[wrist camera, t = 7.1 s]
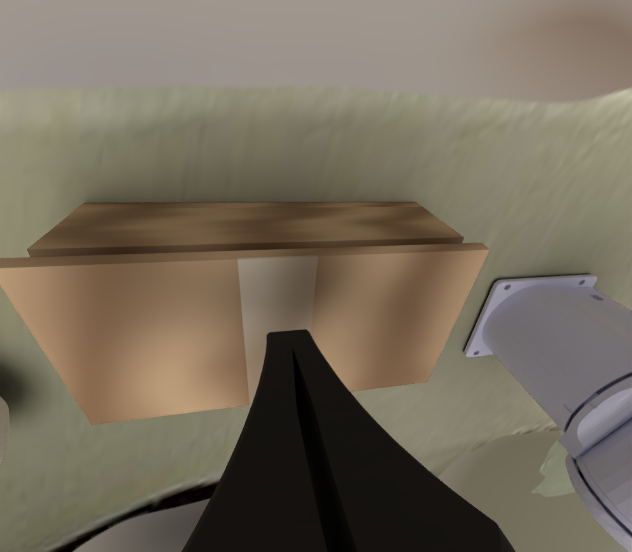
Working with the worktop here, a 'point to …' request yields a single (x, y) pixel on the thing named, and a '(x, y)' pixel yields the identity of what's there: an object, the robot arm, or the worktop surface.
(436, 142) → the worktop surface
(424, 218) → the box
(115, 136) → the worktop surface
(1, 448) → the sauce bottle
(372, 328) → the lid
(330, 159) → the worktop surface
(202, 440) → the worktop surface
